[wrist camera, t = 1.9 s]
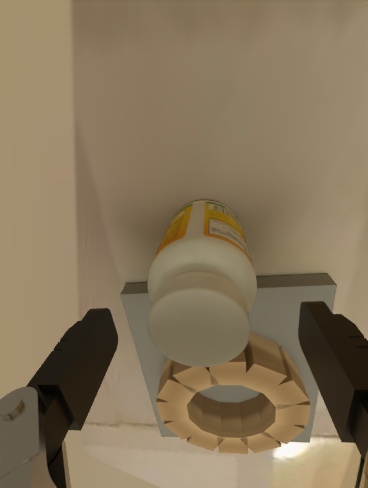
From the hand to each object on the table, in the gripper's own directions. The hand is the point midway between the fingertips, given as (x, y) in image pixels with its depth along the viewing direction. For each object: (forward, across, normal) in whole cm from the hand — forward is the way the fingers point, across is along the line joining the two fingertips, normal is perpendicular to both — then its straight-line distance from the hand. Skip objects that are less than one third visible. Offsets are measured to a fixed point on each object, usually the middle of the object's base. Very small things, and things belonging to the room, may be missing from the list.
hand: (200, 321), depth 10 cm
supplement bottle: (+9, 0, 0) cm, 9 cm away
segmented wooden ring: (+7, -1, +14) cm, 15 cm away
